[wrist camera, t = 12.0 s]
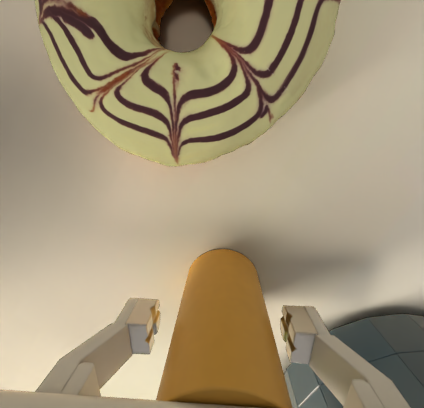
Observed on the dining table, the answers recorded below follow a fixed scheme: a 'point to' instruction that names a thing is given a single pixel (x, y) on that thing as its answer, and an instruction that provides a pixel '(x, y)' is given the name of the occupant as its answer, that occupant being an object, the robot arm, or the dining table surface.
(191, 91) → the decorated donut
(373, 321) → the bowl
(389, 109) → the dining table surface
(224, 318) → the candle
